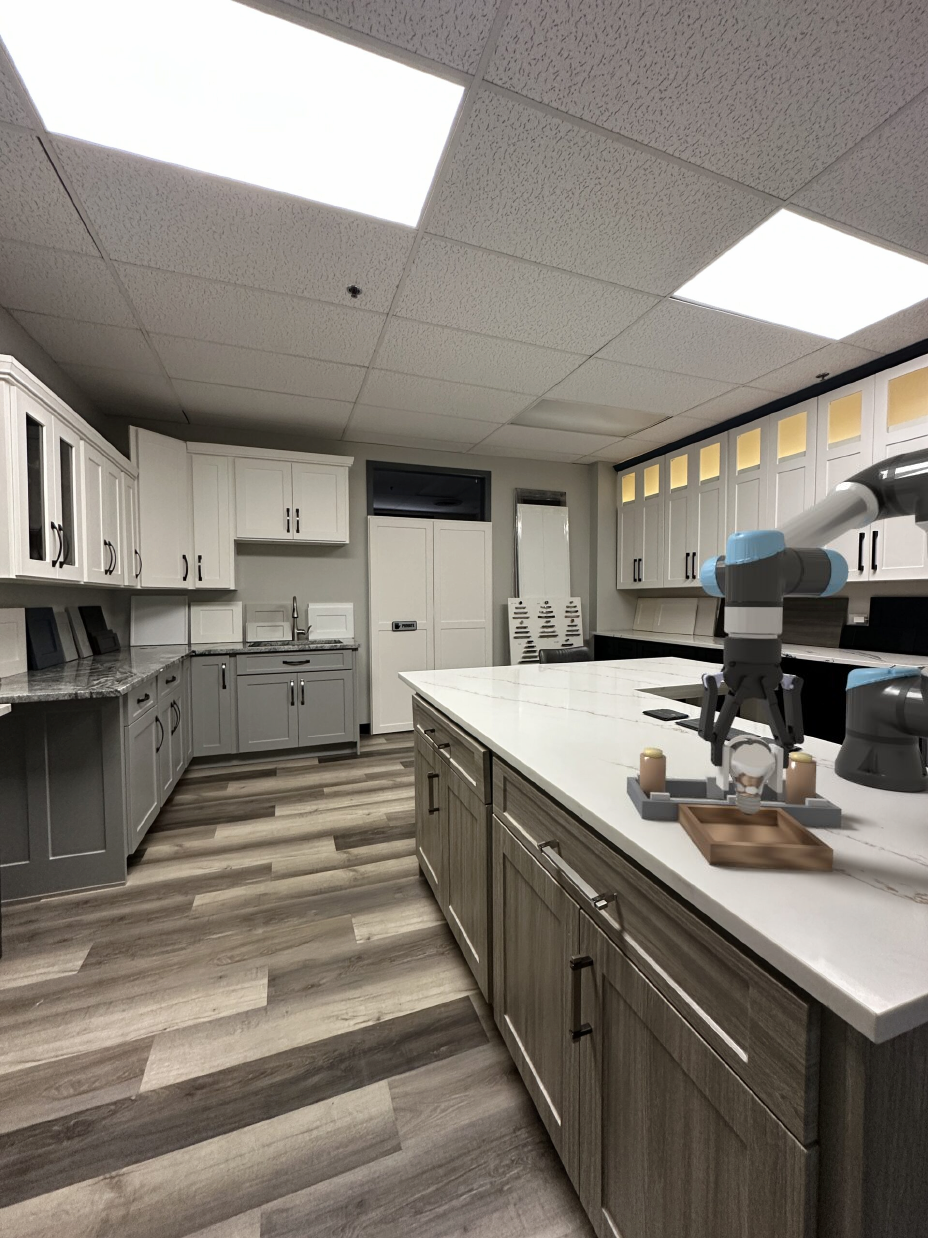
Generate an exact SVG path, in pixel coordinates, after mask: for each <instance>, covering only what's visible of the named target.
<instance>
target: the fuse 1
mask: <svg viewBox="0 0 928 1238" xmlns="http://www.w3.org/2000/svg"><path fill="white" fill-rule="evenodd" d="M663 752H664V751H663V749H661V748H656V747H645V748H643V752H641V753H640V754H639V773H640V789H641V790H642V791H643V792H644V794H645V795H646V797H647V798H648V799H650V792H657V793H666V778H667V756H666V755H664V754H663Z"/></svg>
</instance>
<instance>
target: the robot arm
mask: <svg viewBox="0 0 928 1238" xmlns="http://www.w3.org/2000/svg"><path fill="white" fill-rule="evenodd" d="M909 516H914V524H915V526H916V527H918V528H920V529H921V530H923V531H924V532H925V533H926V550H927V551H926V553H927V554H926V555H927V557H928V447H925V448H922V449H919V450H914V451H911V452H910V451H909V452H906V453H901V454H896V455H894V456H890V457H888V458H885V459H883V460H881V461H878V462H877V463H874V464H873V465H870V466H868V467H866V468H864V469H863V470H861V471H859V472H857V473H856V474H854V475H852V476H851V477H848V478H847V479H845V480H844V481H841V482H840V483H839V484H837V485H835V486H833V487H832V488H831V489H830V490H829V491H828V493H827V494H826V496H825V498H824V499H821V500H820V501H819V502H817V503H814V504H813V505H812V506H810V507H808V508H806V509H805V510H803V511H801V512H800V513H799V514H797V515H795V516H794V517H792V518H790V519H789V520H787V521H784V522H783V523H782V524H780V525H778V526H776V527H775V528H773V529H757V530H755V529H754V530H746V531H739V532H738V531H737V532H734V533H733V534H731V535H730V536H729V537H728V539H727V542H726V549H725V550H726V552H725V554H723V555H718V556H715V557H714V556H713V557H710V558H708V559H707V560H706V561H705V562H704V563H703V565H702V566H701V568H700V573H699V581H700V585H701V586H702V589H703V590H704V591H705V593H707V594H708V595H709V596H711V597H712V596H713V597H718V598H720V597H721V598H724V600H725V601H724V624H723V625H724V626H723V627H724V628H723V630H724V632H725V633H726V634H728V636H725V637H724V639H723V664H722V667H721V669H720V671H719V672H715V673H711V674H710V673H703V674H701V677H700V678H701V683H702V687H703V693H702V700H701V707H700V714H699V723H698V728H697V729H698V730H697V735H698V736H699V737H700V738H701V739H702V740H703V741H706V742H708V743H710V762H711V764H712V765H713V766H714V767H716V769H715V770H716V772H715V773H716V774H715V776H716V784H717V785H718V786H719V787H720V788H721V789H722V790H728V791H729V780H730V774H729V751H730V747H729V746H727V743H725V742H726V740H727V737H728V736H729V733H730V731H731V728H732V725H733V723H734V721H735V718H736V716H737V714H738V711H739V708H740V707H741V705H742V704H743V703H744V701H745V700H749V699H753V698H755V699H757V700H758V701H759V702H760V704H761V707H762V709H763V712H764V715H765V718H766V722H767V724H768V727H769V729H770V732H771V734H772V738H773V741H774V743H769V744H768V745H769V746H770V747H771V749H772V750H773V752H774V755H775V759H776V766H775V770H774V772H773V774H772V775H771V777H770V778H769V779H768V781H767V782H768V786H769V787H770V788H771V789H773V790H774V791H775V792H777V793H782V784H783V776H784V773H783V772H784V769H785V770H786V769H787V768H788V766H789V757H790V751H791V750H793V749H794V748H795V745H803V744H804V742H805V733H804V732H805V731H804V722H803V711H802V699H801V693H802V690H803V689H802V688H803V684H804V679H803V677H799V676H796V675H792V674H790V675H787V674H784V672H783V670H782V668H781V663H782V655H783V654H782V651H783V650H782V647H783V646H782V644H783V641H782V640H781V638H780V637H779V638H778V636H780V635H782V633H783V605H784V598H785V597H788V598H789V597H793V598H794V597H795V598H796V597H801V598H802V597H803V598H804V597H806V598H807V597H808V598H820V597H828V596H832V595H835V594H836V593H838V592H839V591H841V589H843V587H844V586H845V584H846V583H847V581H848V578H849V573H850V572H849V564H848V562H847V560H846V557H844V556H843V555H842V554H841V553H840V552H838V551H836V550H832V549H826V548H823V547H825V546H826V545H828V544H830V543H831V542H833V541H834V540H835V541H836V539H838V538H839V537H841V536H842V535H844V534H845V533H848V532H849V531H850V530H860V529H862V528H865V527H867V526H869V525H871V524H873V523H875V522H877V521H878V522H879V521H882V520H885V519H892V518H899V517H909ZM722 681H723V682H724V683H725V685H726V686H727V691H726V693H725V695H724V702H723V704H722V706H721V709H720V712H719V714H718V716H717V719H716V721H715V718H716V712H717V711H716V710H717V705H718V698H719V688H720V687H721V684H722ZM779 684H780V685H781V687H782V692H783V693H782V694H783V696H782V697H783V705H784V717H785V719H783V716H782V713H781V711H780V708H779V705H778V702H779V701H778V698H777V695H776V693H775V689H776V688H777V687H778V686H779ZM845 691H846V709H845V712H846V713H845V717H846V718H845V738H844V740H843V743H842V745H841V746H840V749H839V751H838V753H837V756H836V758H835V759H834V773H835V774H836V775H838V776H839V777H841V778H843V779H844V780H848V781H850V782H853V783H857V784H859V785H864V786H867V787H871V788H877V789H882V790H889V791H896V792H897V791H899V792H923V791H926V790H928V770H927V766H926V764H925V761H924V758H923V756H922V752H921V751H920V747H919V743H920V742H919V739H920V738H922V739H927V740H928V665H927V666H925V667H924V668H922V669H921V668H919V667H869V668H867V667H866V668H855V669H853V670H851V671H850V672H849V673H848V675H847V683H846V688H845ZM784 720H785V722H784Z"/></svg>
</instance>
